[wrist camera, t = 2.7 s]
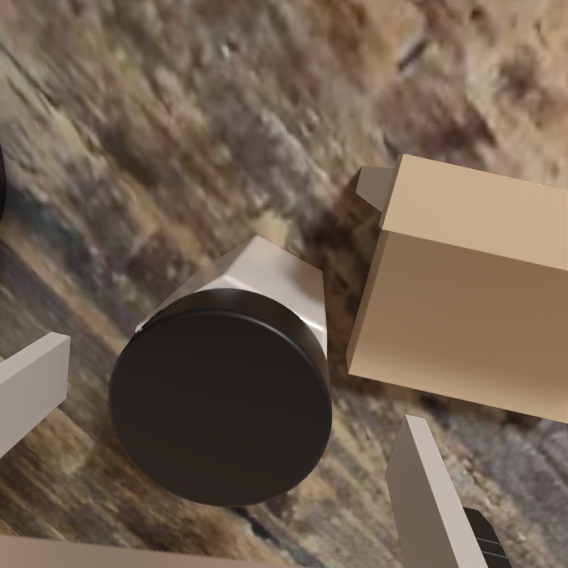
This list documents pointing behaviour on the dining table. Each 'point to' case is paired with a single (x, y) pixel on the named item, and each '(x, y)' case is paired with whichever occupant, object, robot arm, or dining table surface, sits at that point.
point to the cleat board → (466, 287)
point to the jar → (229, 381)
